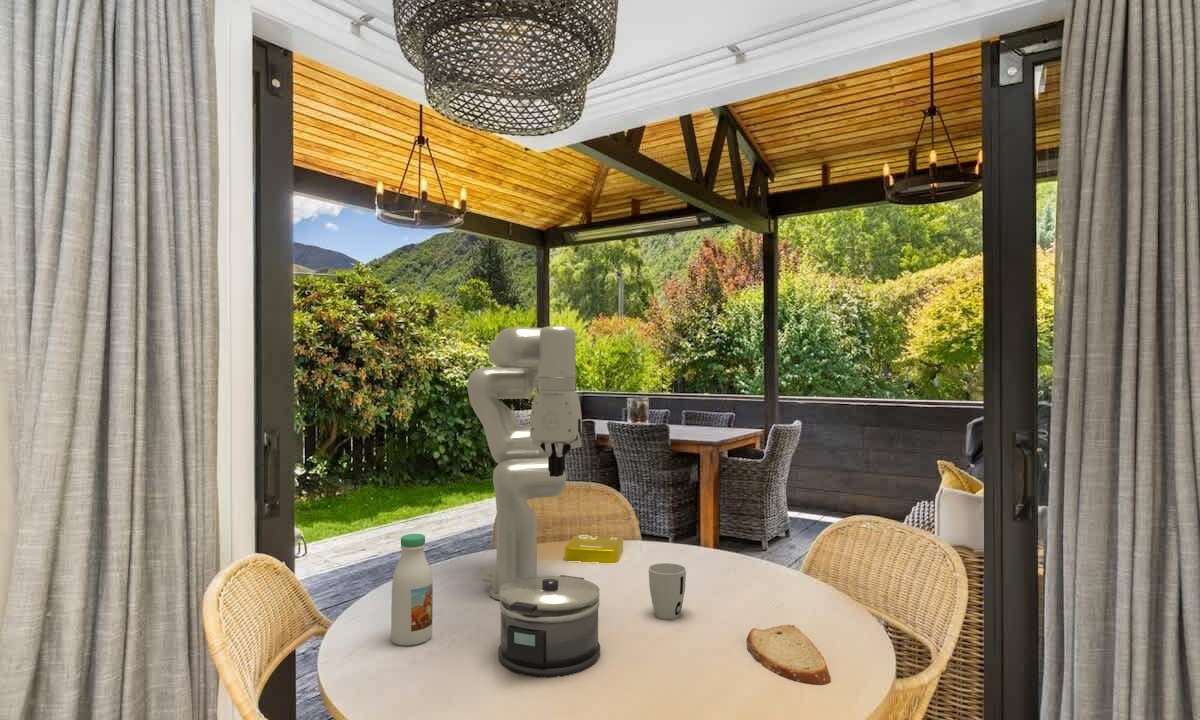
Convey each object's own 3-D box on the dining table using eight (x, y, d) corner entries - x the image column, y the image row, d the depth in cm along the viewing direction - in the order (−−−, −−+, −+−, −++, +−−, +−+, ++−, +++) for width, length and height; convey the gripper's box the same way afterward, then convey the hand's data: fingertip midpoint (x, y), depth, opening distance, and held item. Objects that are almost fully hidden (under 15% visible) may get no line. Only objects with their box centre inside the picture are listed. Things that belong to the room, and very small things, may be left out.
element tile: (563, 563, 177) (563, 545, 178) (574, 549, 192) (574, 533, 192) (616, 566, 175) (616, 548, 175) (623, 551, 190) (623, 535, 190)
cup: (684, 623, 133) (684, 575, 133) (646, 620, 134) (646, 572, 135) (687, 609, 141) (687, 564, 141) (650, 607, 142) (650, 562, 143)
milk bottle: (394, 650, 119) (396, 542, 120) (388, 635, 126) (389, 533, 127) (436, 642, 123) (437, 538, 123) (427, 628, 130) (428, 529, 130)
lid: (474, 605, 111) (474, 589, 111) (531, 576, 131) (531, 563, 131) (570, 620, 104) (570, 603, 105) (615, 587, 124) (615, 574, 124)
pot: (477, 667, 112) (477, 609, 113) (535, 622, 133) (535, 574, 133) (574, 686, 105) (574, 625, 106) (619, 636, 126) (619, 585, 126)
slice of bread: (825, 691, 105) (825, 668, 105) (723, 663, 115) (723, 642, 115) (852, 653, 119) (852, 633, 119) (760, 631, 130) (760, 612, 130)
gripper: (516, 386, 130) (515, 476, 130) (583, 386, 125) (582, 480, 124) (533, 385, 137) (532, 471, 137) (597, 386, 132) (597, 475, 131)
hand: (556, 475), depth 131 cm, fingers closed
